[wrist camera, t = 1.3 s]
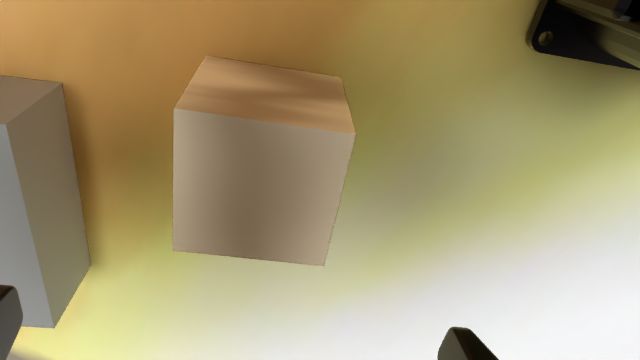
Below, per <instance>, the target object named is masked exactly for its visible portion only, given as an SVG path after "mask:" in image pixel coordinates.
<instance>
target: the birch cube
mask: <svg viewBox="0 0 640 360" xmlns="http://www.w3.org/2000/svg"><path fill="white" fill-rule="evenodd" d="M355 137H356V133H355V129H354V125H353V121H352V117H351V113H350V110H349V106H348V102H347V98H346V94H345V90H344V87H343V83H342V79H341V77H337V76H330V75H324V74H318V73H312V72H306V71H299V70H293V69H287V68H281V67H275V66H268V65H262V64H256V63H250V62H244V61H237V60H231V59H225V58H219V57H213V56H205V58H204V59H203V61H202V63H201V64H200V66H199V68H198V69H197V71H196V73H195V74H194V76H193V77H192V79H191V81H190V82H189V84H188V86H187V87H186V89H185V91H184V92H183V94H182V95H181V97H180V99H179V100H178V102H177V104H176V105H175V107H174V137H173V251H182V252H192V253H202V254H211V255H221V256H231V257H241V258H250V259H260V260H270V261H279V262H289V263H299V264H308V265H318V266H324V264H325V259H326V255H327V251H328V247H329V243H330V239H331V235H332V231H333V227H334V223H335V218H336V214H337V210H338V206H339V202H340V198H341V194H342V190H343V186H344V182H345V178H346V173H347V169H348V165H349V161H350V157H351V153H352V149H353V145H354V141H355Z"/></svg>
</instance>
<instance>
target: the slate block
mask: <svg viewBox="0 0 640 360" xmlns="http://www.w3.org/2000/svg"><path fill="white" fill-rule="evenodd" d="M90 266H91V261H90V255H89V249H88V242H87V236H86V230H85V224H84V217H83V211H82V205H81V199H80V192H79V186H78V180H77V174H76V167H75V161H74V155H73V149H72V142H71V136H70V130H69V124H68V117H67V111H66V105H65V99H64V92H63V86H62V83H60V82H51V81H43V80H35V79H27V78H18V77H10V76H2V75H0V284H1V285H11V286H14V287H15V288H16V289H17V291H18V295H19V299H20V303H21V307H22V311H23V322H22V325H21V326H25V327H41V328H55V326H56V324H57V323H58V321H59V319H60V318H61V316H62V314H63V312H64V311H65V309H66V307H67V306H68V304H69V302H70V300H71V299H72V297H73V295H74V293H75V292H76V290H77V288H78V287H79V285H80V283H81V281H82V280H83V278H84V276H85V275H86V273H87V271H88V269H89V268H90Z"/></svg>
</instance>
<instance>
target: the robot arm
mask: <svg viewBox="0 0 640 360" xmlns="http://www.w3.org/2000/svg"><path fill="white" fill-rule="evenodd" d="M545 31H547V32H548V35H547V38H546V39H545V40H544V41H543V42H541V43H539V41H538V40H539V37H540V35H541V34H542V33H543V32H545ZM526 39H527V44H528V45H529V47H530V48H532V49H533V50H535V51H537V52H540V53H545V54H551V55H556V56H562V57H567V58H573V59H578V60H584V61H590V62H595V63H601V64H606V65H612V66H617V67H623V68H629V69H634V70H640V0H541V2H540V5H539V7H538V9H537V12H536V14H535V17H534V19H533V22H532V24H531V26H530V29H529V31H528V34H527V38H526ZM22 322H23V311H22V307H21V303H20V299H19V295H18V291H17V289H16V288H15V287H14V286H11V285H1V284H0V360H6V358H7V356H8V354H9V352H10V350H11V348H12V345H13V343H14V341H15V339H16V336H17V334H18V332H19V330H20V328H21V325H22ZM438 360H499V359H498V358H497V357H496V356H495V355H494V354H493V353H492V352H491V351H490V350H489V349H488V348H487V346H486V345H485V344H484V343H483V342H482V341H481V340H480V339H479V338H478V337H477V336H476V335H475V334H474V333H473V332H472V331H471V330H470V329H468V328H462V327H451V328H450V329H449V330H448V332H447V334H446V336H445V338H444V340H443V342H442V344H441V346H440V348H439V351H438Z"/></svg>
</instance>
